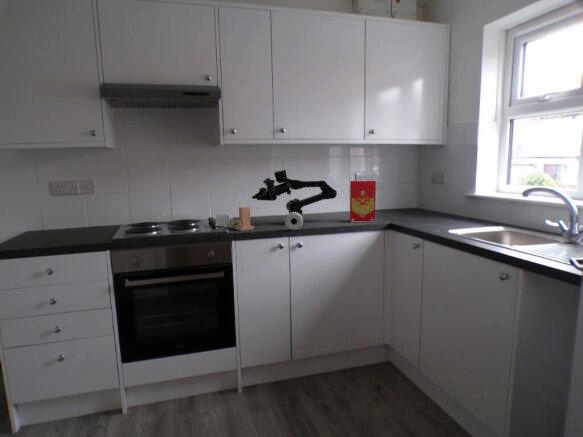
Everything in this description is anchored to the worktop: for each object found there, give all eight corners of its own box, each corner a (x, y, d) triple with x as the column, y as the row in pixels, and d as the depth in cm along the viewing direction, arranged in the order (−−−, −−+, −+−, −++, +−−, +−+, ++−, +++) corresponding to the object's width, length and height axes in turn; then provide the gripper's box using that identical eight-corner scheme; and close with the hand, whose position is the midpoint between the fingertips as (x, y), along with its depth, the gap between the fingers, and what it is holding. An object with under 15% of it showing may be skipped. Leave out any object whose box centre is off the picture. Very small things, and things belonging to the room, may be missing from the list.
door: (228, 227, 209) (228, 218, 208) (232, 227, 210) (232, 218, 210) (238, 230, 199) (237, 221, 198) (241, 230, 200) (241, 221, 199)
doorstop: (248, 227, 211) (247, 206, 209) (254, 229, 204) (253, 207, 203) (235, 228, 207) (235, 207, 205) (241, 230, 200) (241, 208, 199)
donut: (303, 229, 202) (303, 211, 200) (303, 230, 198) (303, 212, 197) (284, 229, 202) (284, 211, 200) (284, 230, 198) (284, 212, 197)
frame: (216, 226, 213) (215, 214, 212) (218, 226, 215) (218, 214, 214) (231, 227, 210) (230, 215, 209) (233, 226, 212) (232, 214, 211)
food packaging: (350, 222, 226) (350, 181, 222) (349, 221, 231) (350, 180, 227) (374, 222, 225) (375, 181, 221) (373, 221, 230) (374, 180, 226)
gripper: (269, 175, 221) (245, 184, 216) (281, 176, 204) (255, 185, 199) (274, 193, 223) (251, 202, 218) (286, 196, 206) (261, 205, 201)
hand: (254, 198), depth 209 cm, fingers open, 9 cm apart
